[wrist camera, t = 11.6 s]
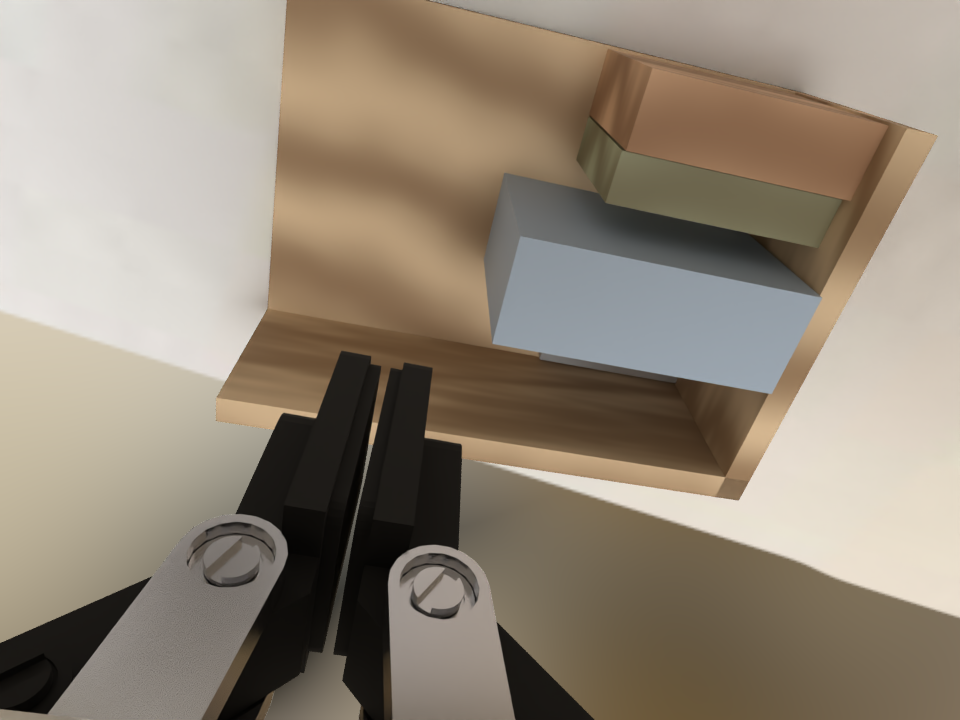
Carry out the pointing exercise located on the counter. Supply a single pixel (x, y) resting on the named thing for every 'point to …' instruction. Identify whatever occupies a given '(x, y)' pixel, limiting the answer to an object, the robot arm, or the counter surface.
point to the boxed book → (639, 289)
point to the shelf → (470, 211)
